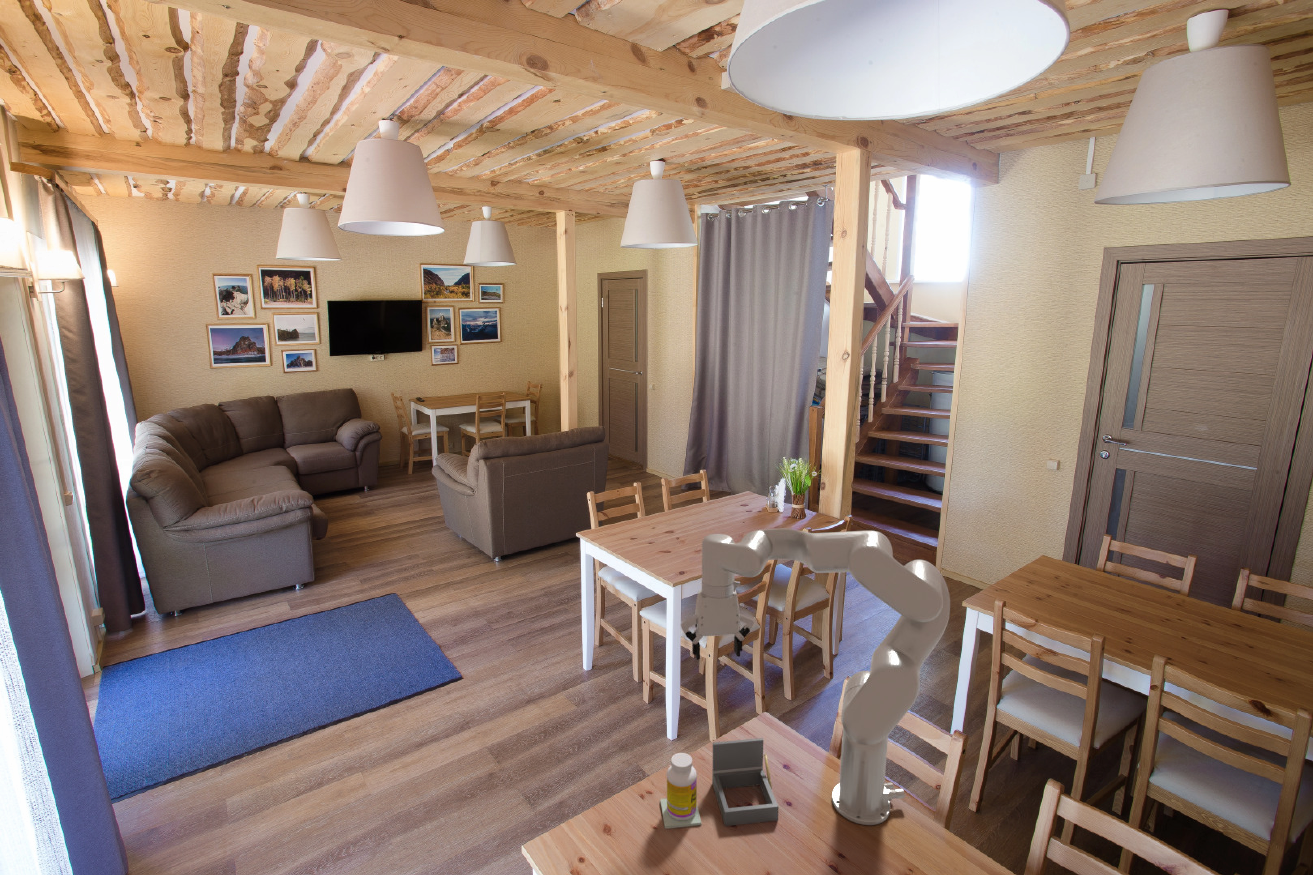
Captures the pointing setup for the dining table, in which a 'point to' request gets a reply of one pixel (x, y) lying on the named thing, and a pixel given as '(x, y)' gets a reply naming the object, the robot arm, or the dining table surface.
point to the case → (742, 780)
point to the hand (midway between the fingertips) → (717, 655)
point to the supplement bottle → (681, 787)
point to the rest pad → (674, 823)
